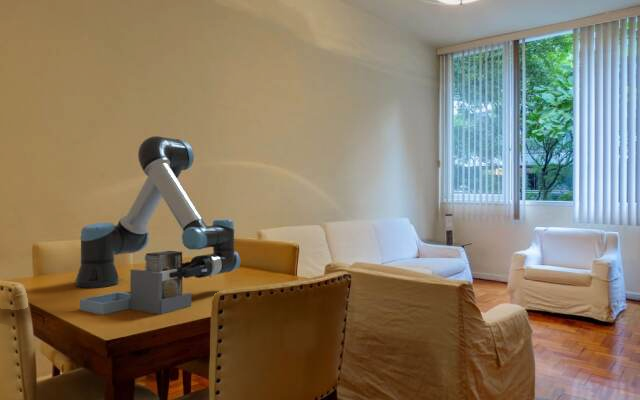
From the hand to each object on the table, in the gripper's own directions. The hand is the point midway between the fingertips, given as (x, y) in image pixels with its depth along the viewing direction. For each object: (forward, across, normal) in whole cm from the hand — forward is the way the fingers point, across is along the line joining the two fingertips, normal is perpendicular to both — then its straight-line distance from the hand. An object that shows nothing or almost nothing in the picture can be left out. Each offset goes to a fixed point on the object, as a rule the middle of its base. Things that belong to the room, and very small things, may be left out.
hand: (151, 275), depth 142 cm
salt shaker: (-20, +24, -11) cm, 33 cm away
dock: (-4, 0, -10) cm, 11 cm away
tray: (+5, +12, -10) cm, 17 cm away
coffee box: (-5, 0, -10) cm, 11 cm away
